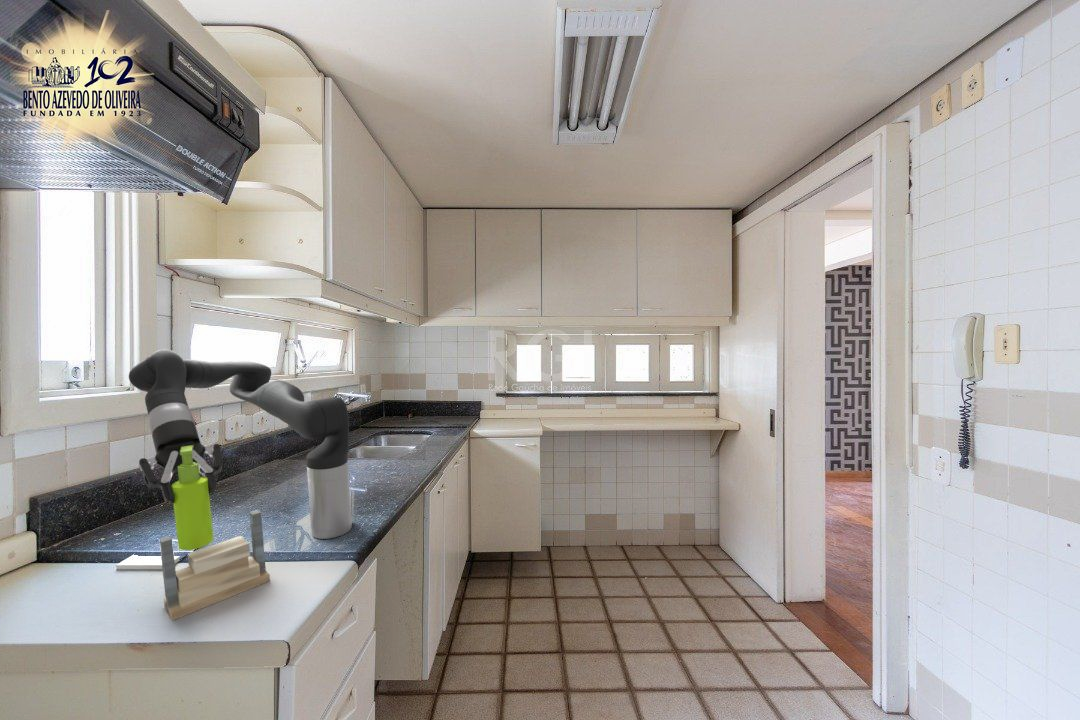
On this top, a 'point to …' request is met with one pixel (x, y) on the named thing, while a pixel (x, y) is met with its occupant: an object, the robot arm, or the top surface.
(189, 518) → the soap dispenser
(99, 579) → the top surface
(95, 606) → the top surface
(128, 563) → the pad
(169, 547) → the offcut rack
